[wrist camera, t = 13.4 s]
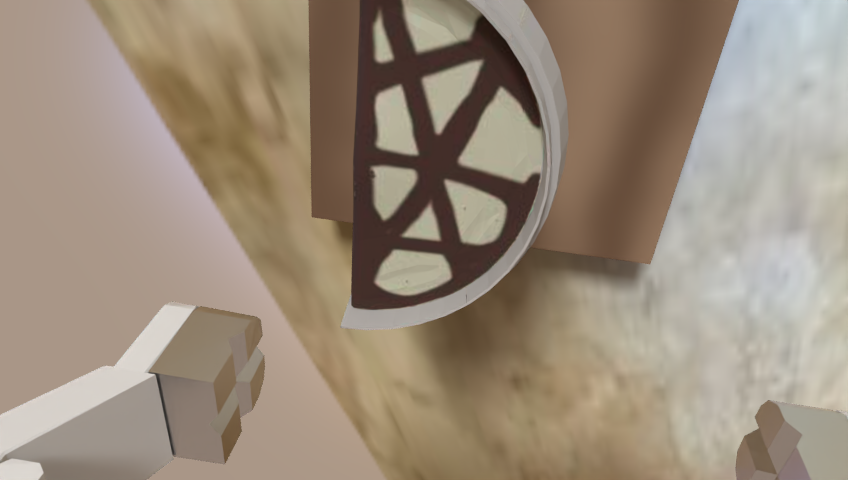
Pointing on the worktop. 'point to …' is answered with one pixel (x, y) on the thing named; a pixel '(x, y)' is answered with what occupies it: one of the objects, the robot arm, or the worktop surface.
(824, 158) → the worktop surface
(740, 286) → the worktop surface
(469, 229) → the food container
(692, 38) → the walnut base
